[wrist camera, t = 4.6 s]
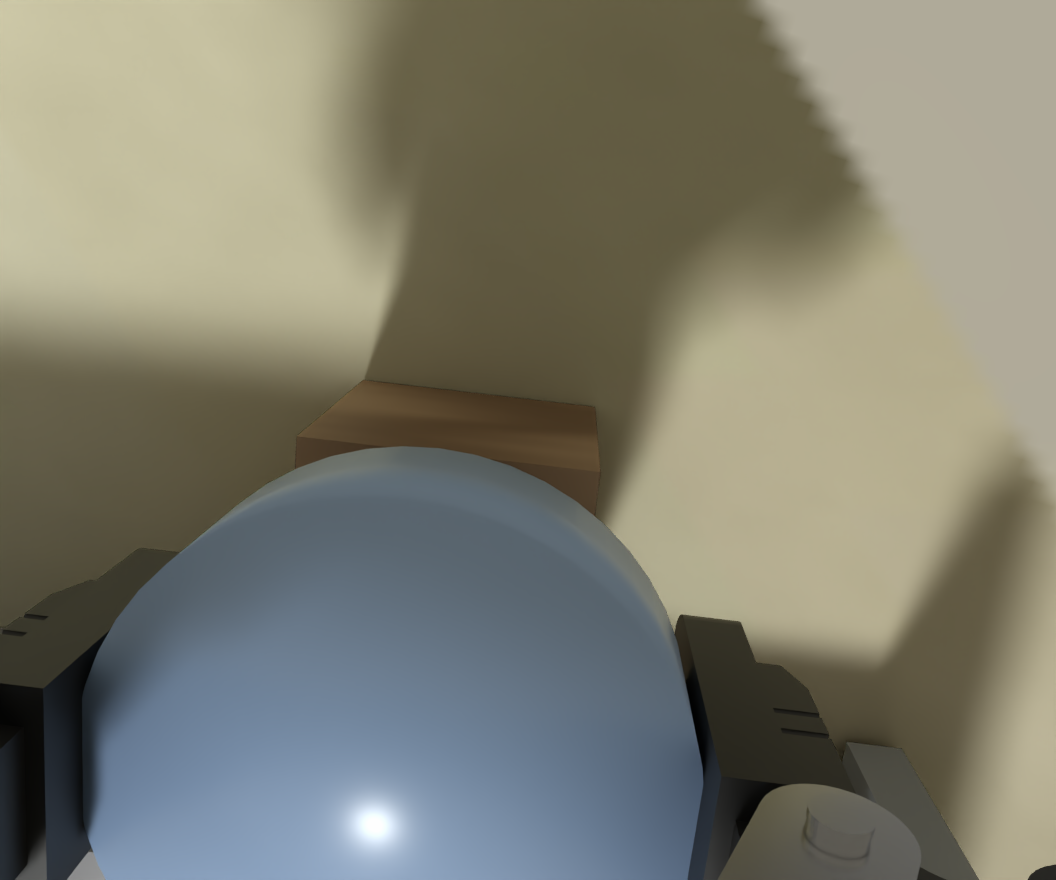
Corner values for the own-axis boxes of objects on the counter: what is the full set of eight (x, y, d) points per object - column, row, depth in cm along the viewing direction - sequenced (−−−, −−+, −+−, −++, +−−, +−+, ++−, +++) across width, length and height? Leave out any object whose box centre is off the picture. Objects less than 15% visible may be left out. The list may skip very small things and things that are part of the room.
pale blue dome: (724, 482, 10) (753, 540, 8) (646, 963, 11) (655, 1099, 10) (161, 414, 10) (71, 457, 8) (154, 893, 12) (77, 1016, 10)
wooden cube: (594, 406, 16) (600, 472, 12) (567, 621, 17) (564, 743, 13) (363, 380, 16) (297, 436, 12) (348, 594, 17) (283, 709, 13)
